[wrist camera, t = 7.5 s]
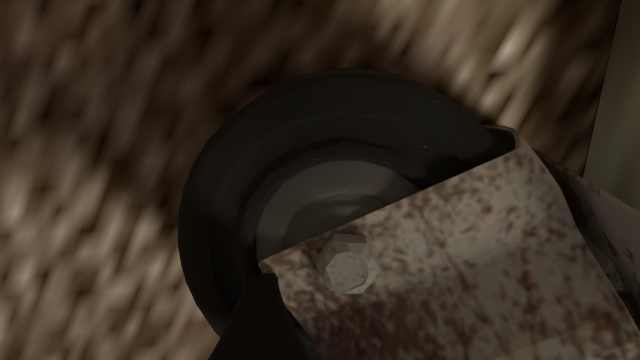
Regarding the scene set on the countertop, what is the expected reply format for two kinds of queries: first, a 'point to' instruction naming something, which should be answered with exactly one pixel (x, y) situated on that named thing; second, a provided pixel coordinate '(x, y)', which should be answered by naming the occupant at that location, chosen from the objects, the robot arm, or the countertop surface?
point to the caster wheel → (407, 229)
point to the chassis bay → (619, 115)
